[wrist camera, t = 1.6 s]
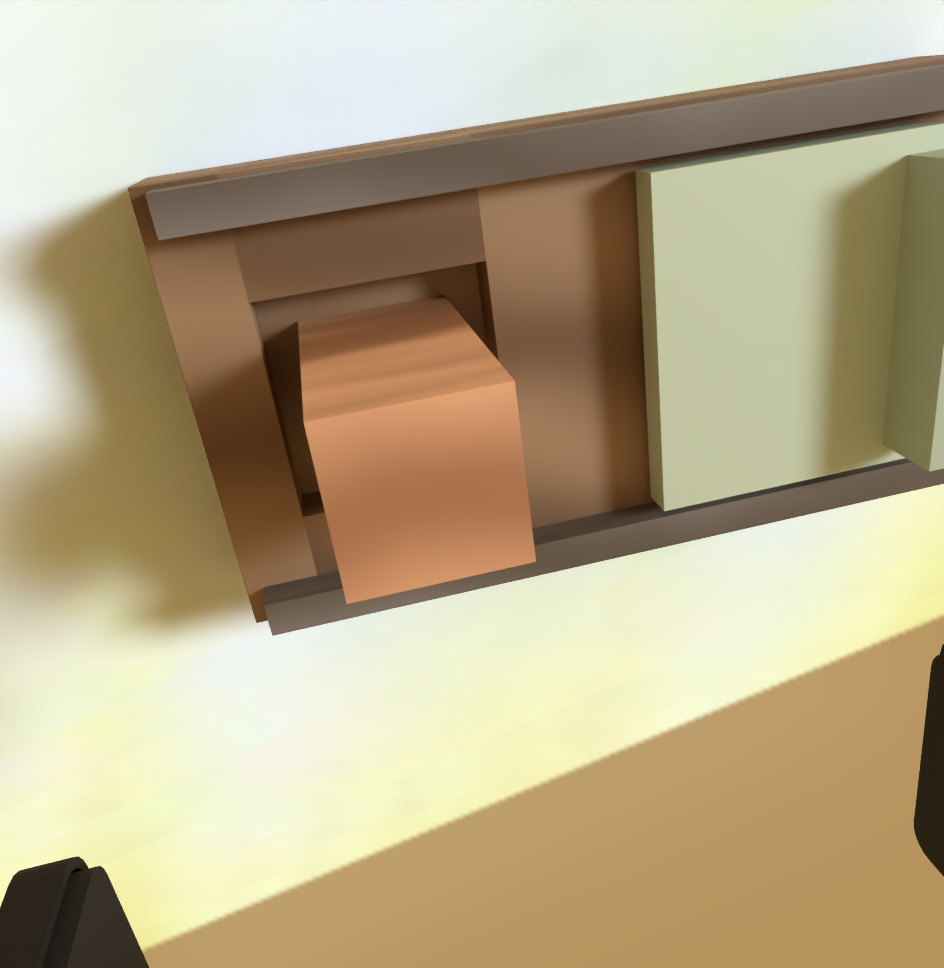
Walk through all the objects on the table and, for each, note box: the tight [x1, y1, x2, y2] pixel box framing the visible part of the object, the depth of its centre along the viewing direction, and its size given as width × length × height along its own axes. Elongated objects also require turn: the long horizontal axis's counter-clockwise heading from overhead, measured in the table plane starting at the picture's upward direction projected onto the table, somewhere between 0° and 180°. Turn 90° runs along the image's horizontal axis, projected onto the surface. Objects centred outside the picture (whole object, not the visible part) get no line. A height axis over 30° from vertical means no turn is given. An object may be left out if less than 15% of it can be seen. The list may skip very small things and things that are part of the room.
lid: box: [635, 121, 944, 511], centre depth 22 cm, size 9×8×3 cm
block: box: [298, 295, 536, 604], centre depth 20 cm, size 4×4×8 cm
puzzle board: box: [128, 55, 944, 635], centre depth 24 cm, size 12×22×4 cm, turn 98°
